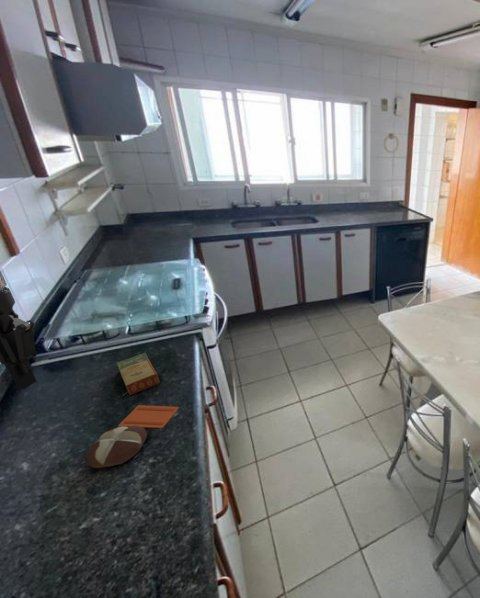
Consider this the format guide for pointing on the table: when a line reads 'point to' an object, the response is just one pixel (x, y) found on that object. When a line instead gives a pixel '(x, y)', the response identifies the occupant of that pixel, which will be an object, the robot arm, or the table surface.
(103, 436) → the bread
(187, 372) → the table surface
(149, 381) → the carton
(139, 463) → the table surface
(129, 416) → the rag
